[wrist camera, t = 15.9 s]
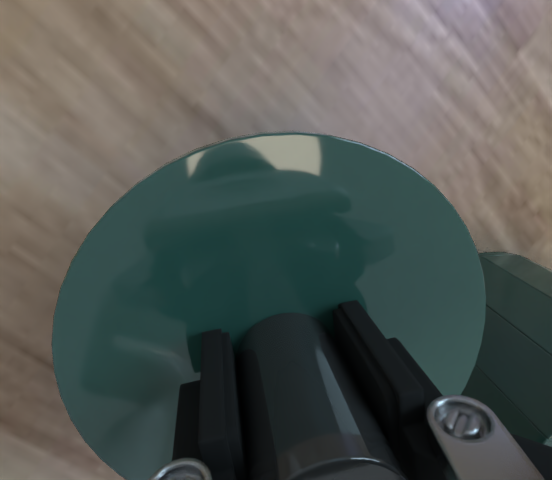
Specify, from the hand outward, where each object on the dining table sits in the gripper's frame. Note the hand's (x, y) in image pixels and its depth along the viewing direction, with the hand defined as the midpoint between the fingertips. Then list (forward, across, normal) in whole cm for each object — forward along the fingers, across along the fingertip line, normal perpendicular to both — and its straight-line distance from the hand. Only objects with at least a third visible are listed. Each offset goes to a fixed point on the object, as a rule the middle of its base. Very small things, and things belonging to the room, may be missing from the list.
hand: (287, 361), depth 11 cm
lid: (+1, 0, 0) cm, 1 cm away
